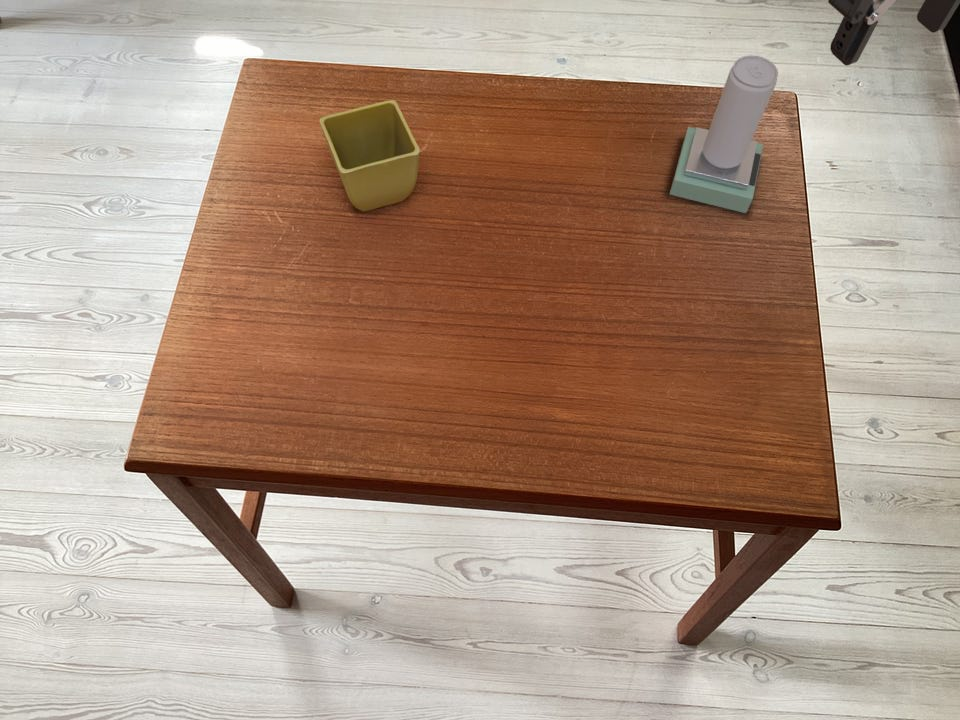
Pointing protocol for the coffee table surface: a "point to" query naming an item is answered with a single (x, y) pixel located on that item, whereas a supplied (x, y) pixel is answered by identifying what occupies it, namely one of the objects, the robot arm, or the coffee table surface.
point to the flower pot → (373, 154)
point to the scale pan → (704, 170)
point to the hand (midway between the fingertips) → (886, 41)
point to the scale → (712, 183)
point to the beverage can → (739, 110)
